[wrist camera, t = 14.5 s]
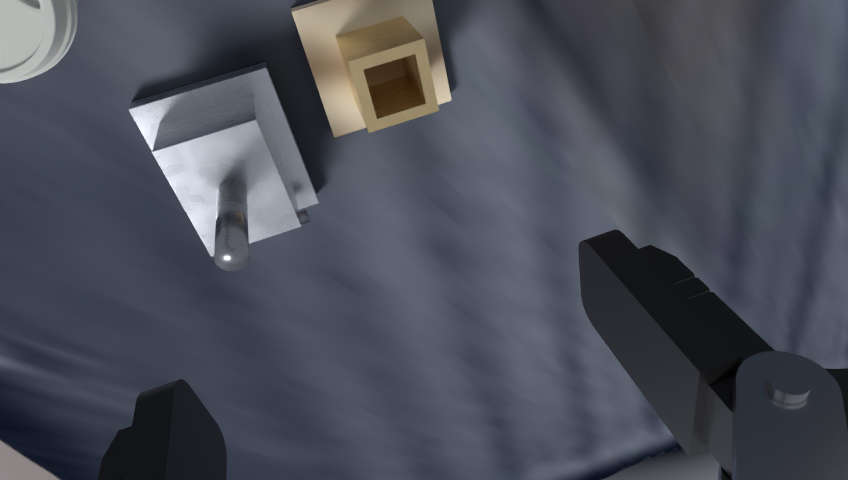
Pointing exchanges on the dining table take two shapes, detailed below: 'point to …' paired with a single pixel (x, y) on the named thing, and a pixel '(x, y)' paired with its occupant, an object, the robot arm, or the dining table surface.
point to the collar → (396, 95)
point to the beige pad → (347, 11)
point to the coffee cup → (34, 36)
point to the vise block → (229, 159)
